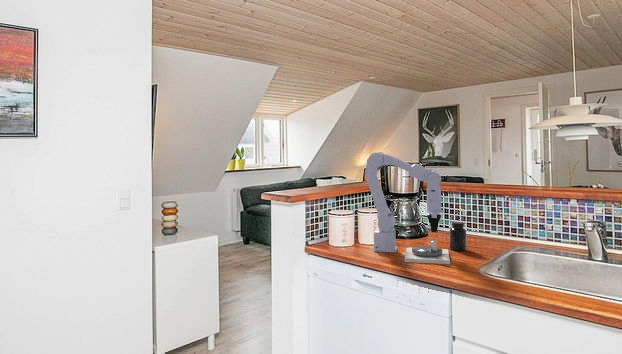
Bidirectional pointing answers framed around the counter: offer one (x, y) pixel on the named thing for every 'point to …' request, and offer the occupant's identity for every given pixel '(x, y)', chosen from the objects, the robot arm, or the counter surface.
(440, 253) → the dial
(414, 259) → the dial plate
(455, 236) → the supplement bottle
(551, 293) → the counter surface
